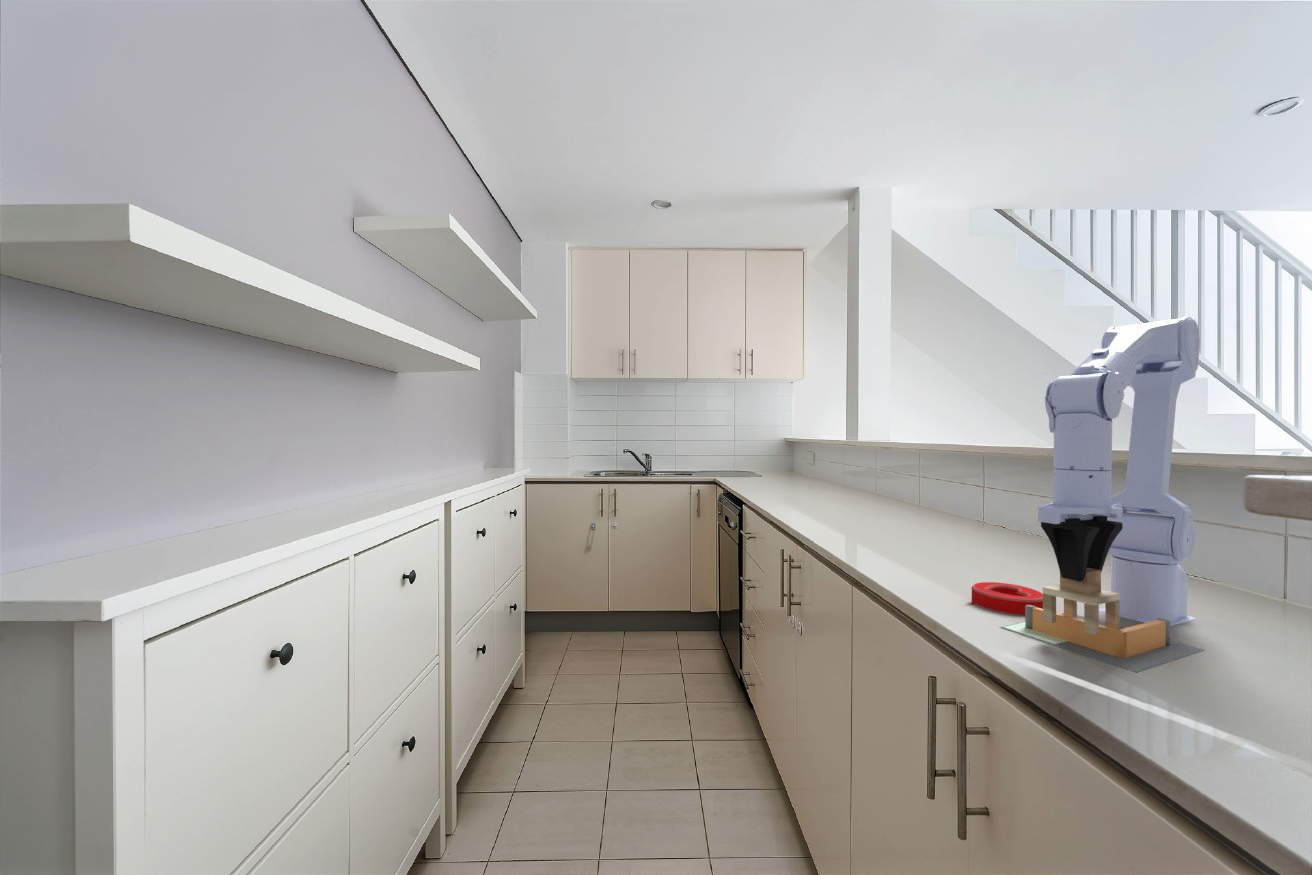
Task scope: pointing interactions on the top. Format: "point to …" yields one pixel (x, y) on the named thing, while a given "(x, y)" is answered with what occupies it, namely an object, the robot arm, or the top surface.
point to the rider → (1083, 601)
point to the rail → (1102, 633)
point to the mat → (1132, 662)
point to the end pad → (1035, 634)
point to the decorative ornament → (1005, 597)
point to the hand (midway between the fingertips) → (1080, 577)
